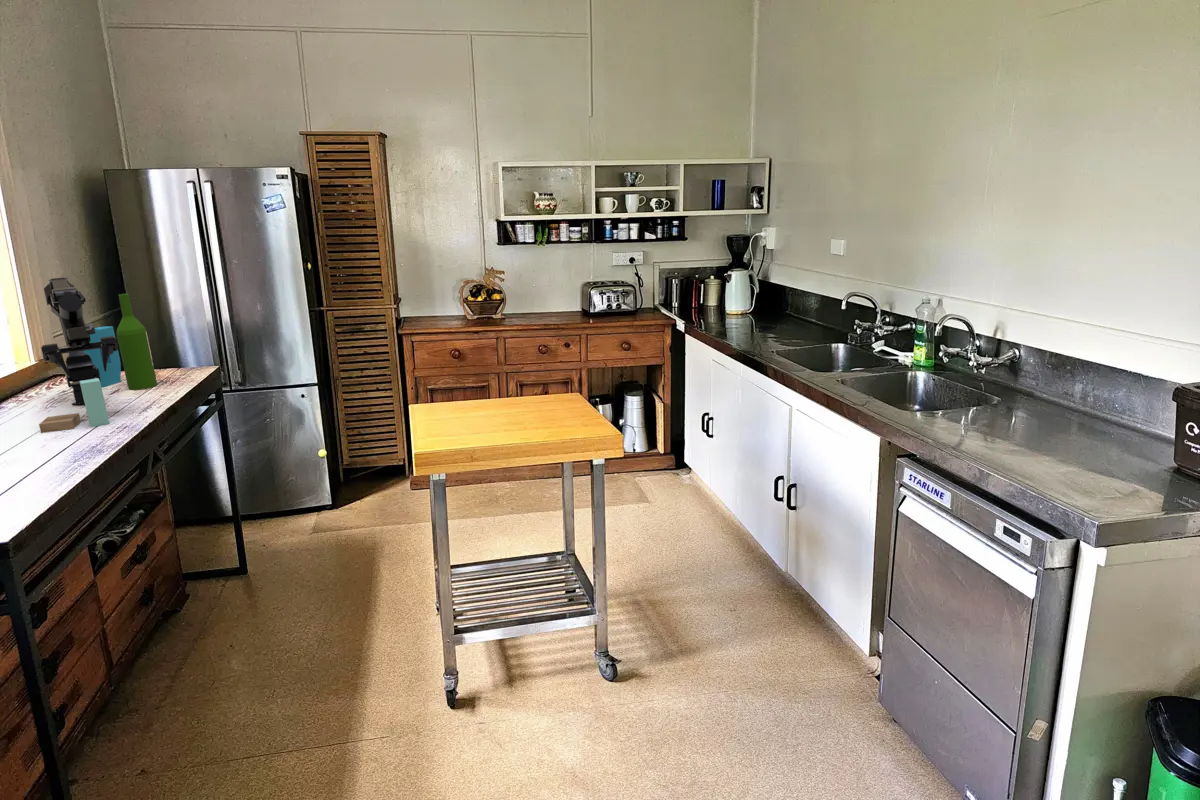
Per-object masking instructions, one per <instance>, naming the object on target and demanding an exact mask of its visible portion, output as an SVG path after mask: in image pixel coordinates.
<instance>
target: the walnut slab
mask: <svg viewBox="0 0 1200 800" xmlns="http://www.w3.org/2000/svg"><path fill="white" fill-rule="evenodd" d="M81 420H82V419H81V415H80V413H79V412H78V413H69V414H68V413H67V414H60V415H53V416H47V417H46V418H44V419H43V420H42V421H41V422H40V423H38V427H39V430H40V433H42V434H44V433H51V432H59V431H60V432H61V431H67V430H74V429H75V428H77V426H78V425H79V424H80V423H81V422H82V421H81Z"/></svg>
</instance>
